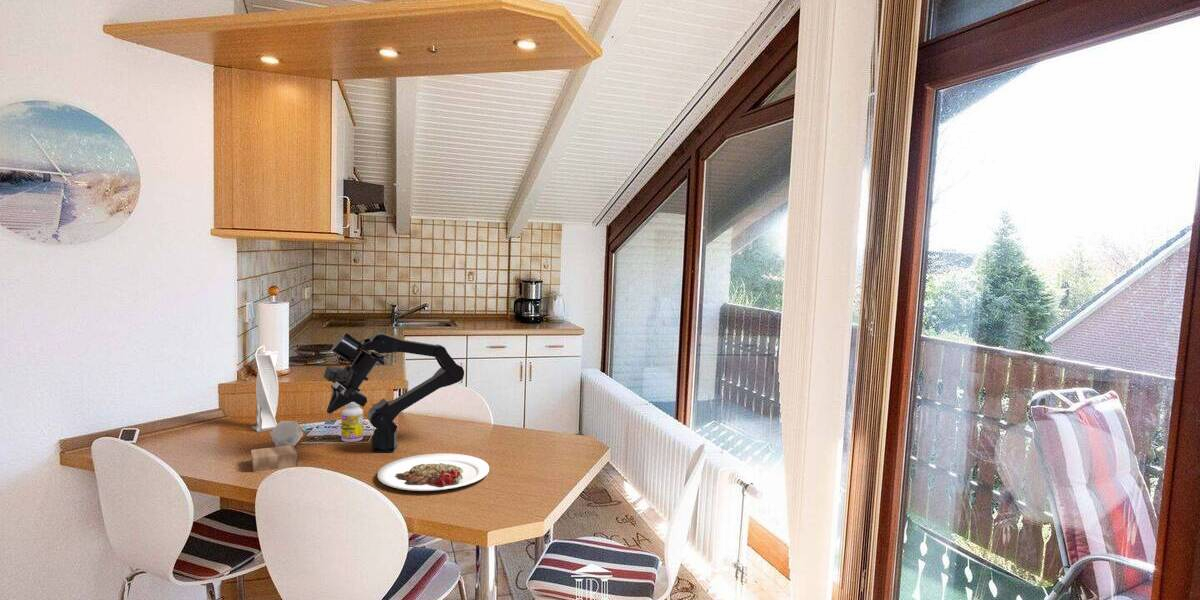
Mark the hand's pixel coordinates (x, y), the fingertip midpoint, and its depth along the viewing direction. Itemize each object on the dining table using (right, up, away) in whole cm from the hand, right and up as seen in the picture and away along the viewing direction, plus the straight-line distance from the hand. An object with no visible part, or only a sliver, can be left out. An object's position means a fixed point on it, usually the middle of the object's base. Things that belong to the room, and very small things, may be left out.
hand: (328, 412), depth 194 cm
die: (-17, -12, +10) cm, 23 cm away
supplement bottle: (0, -12, +18) cm, 22 cm away
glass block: (-8, -12, -5) cm, 15 cm away
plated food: (+35, -16, -13) cm, 41 cm away
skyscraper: (-34, -11, +30) cm, 47 cm away
